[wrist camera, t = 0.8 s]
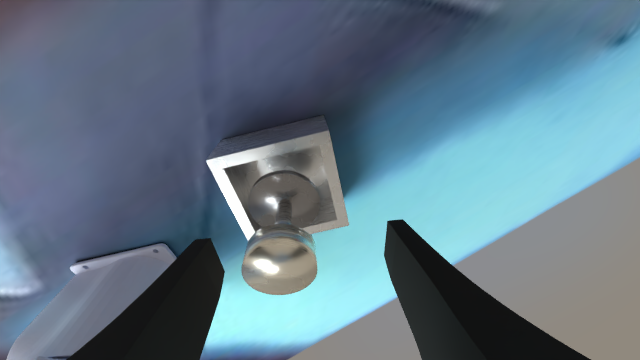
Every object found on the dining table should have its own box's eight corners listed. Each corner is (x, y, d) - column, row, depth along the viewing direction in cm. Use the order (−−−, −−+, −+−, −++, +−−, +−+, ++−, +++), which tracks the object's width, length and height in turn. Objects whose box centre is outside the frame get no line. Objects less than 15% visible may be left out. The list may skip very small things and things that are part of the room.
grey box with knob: (266, 237, 24) (261, 266, 21) (220, 140, 18) (205, 160, 15) (346, 219, 23) (353, 246, 20) (323, 114, 18) (328, 130, 15)
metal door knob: (263, 233, 18) (250, 309, 13) (238, 179, 16) (210, 248, 10) (325, 218, 18) (337, 290, 13) (310, 162, 15) (317, 224, 10)
